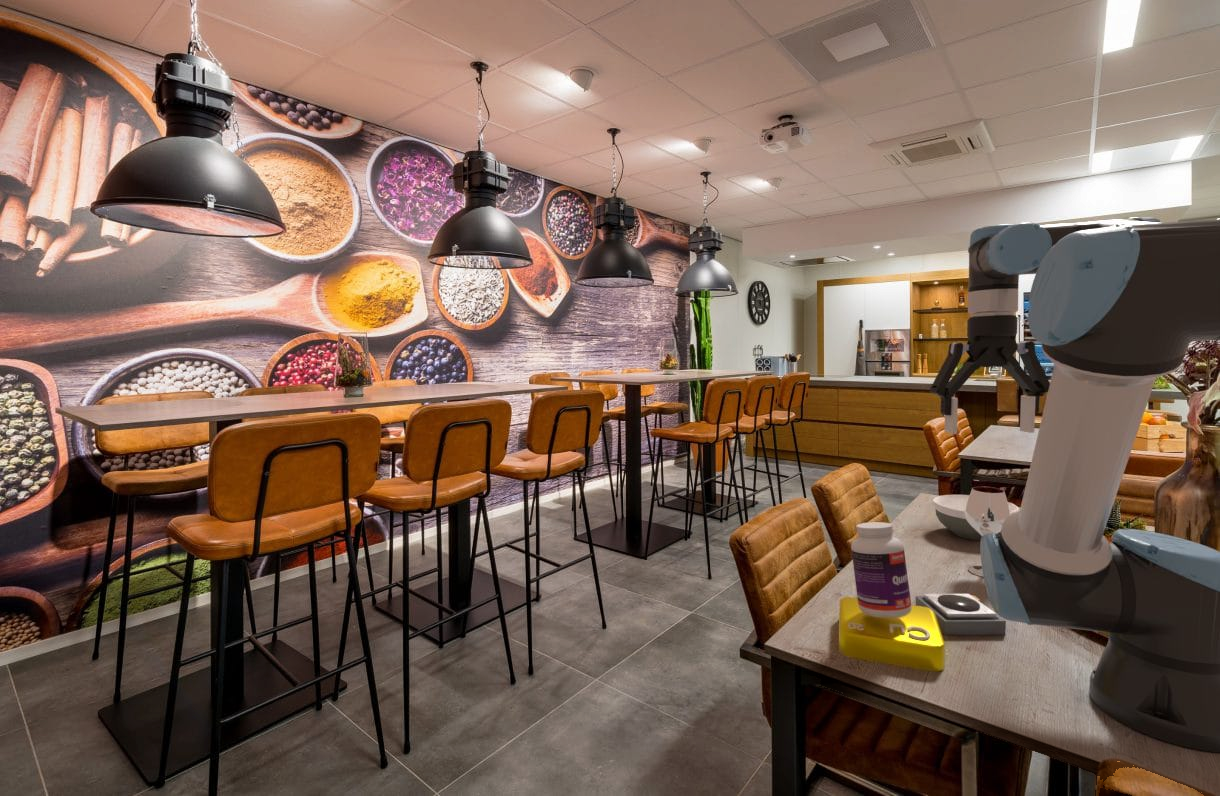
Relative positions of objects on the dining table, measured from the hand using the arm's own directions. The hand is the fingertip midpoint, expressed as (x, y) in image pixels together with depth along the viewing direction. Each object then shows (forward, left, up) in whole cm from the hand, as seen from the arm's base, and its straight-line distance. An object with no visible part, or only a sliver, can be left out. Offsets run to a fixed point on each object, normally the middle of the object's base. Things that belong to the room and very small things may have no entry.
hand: (988, 432), depth 105 cm
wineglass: (+16, -10, -33) cm, 38 cm away
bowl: (+41, -22, -33) cm, 57 cm away
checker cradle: (-6, +8, -33) cm, 34 cm away
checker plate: (-6, +8, -31) cm, 33 cm away
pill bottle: (-13, +24, -28) cm, 39 cm away
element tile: (-13, +23, -33) cm, 43 cm away
